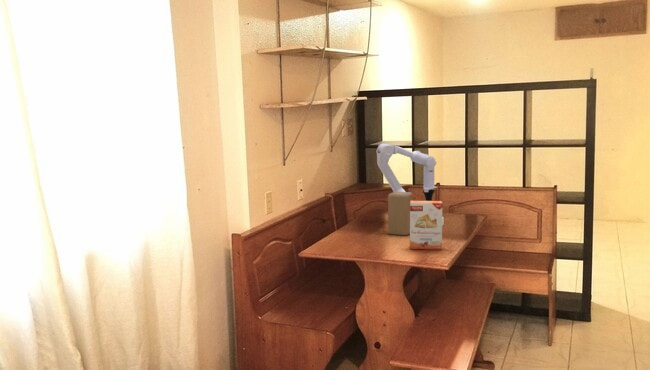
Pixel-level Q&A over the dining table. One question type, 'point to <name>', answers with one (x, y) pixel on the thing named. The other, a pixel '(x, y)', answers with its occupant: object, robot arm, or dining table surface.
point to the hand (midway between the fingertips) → (428, 203)
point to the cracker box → (426, 225)
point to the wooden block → (399, 213)
